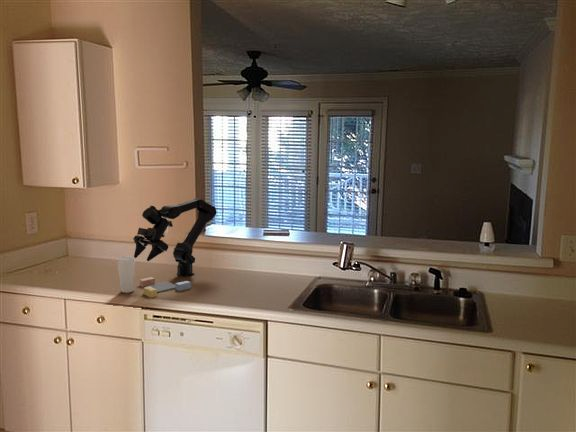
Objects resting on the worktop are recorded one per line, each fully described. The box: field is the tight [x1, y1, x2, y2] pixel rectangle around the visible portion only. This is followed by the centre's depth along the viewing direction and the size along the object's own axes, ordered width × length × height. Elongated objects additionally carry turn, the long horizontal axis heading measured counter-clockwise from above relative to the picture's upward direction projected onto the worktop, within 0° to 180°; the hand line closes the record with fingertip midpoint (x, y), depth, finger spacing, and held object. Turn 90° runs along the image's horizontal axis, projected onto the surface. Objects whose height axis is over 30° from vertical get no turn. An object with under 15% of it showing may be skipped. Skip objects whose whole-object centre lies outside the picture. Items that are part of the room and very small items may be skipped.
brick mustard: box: [142, 286, 158, 298], centre depth 205 cm, size 6×3×3 cm, turn 44°
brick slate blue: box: [175, 280, 192, 292], centre depth 214 cm, size 6×3×3 cm, turn 132°
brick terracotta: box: [139, 276, 156, 288], centre depth 219 cm, size 6×3×3 cm, turn 135°
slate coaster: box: [144, 280, 176, 294], centre depth 215 cm, size 11×11×1 cm
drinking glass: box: [117, 255, 136, 294], centre depth 208 cm, size 7×7×15 cm
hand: (141, 259), depth 214 cm, fingers open, 9 cm apart
